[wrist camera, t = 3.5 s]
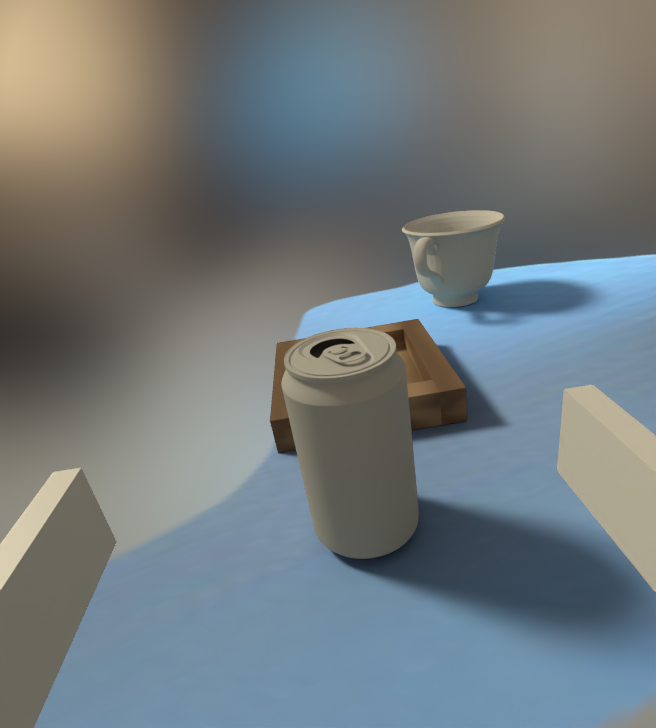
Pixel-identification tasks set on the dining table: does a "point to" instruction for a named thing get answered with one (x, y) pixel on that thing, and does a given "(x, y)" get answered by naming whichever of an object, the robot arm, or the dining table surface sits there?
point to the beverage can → (353, 439)
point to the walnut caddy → (424, 381)
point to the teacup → (454, 254)
